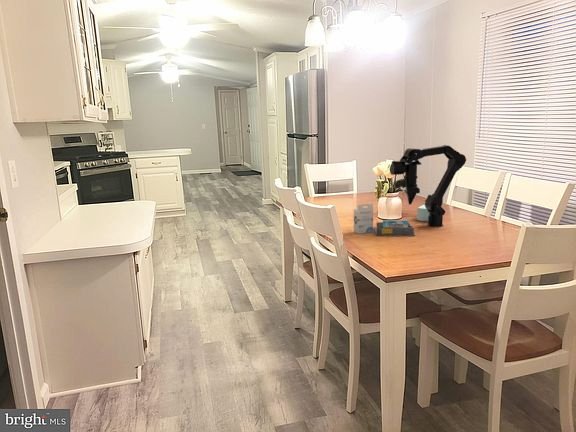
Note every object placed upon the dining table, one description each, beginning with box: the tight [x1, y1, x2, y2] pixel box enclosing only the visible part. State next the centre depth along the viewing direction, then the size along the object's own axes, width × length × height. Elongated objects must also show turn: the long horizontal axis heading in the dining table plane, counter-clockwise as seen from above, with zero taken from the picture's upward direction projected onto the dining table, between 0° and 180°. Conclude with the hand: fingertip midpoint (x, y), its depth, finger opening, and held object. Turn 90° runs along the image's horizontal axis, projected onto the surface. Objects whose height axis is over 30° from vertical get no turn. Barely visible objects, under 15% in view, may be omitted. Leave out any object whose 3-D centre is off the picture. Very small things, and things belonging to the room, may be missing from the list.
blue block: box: [382, 219, 409, 228], centre depth 214 cm, size 12×2×6 cm, turn 84°
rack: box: [373, 221, 416, 237], centre depth 219 cm, size 18×15×4 cm
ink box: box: [353, 203, 374, 235], centre depth 219 cm, size 9×5×15 cm, turn 105°
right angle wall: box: [416, 204, 429, 223], centre depth 242 cm, size 12×12×8 cm
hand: (409, 204), depth 225 cm, fingers closed
